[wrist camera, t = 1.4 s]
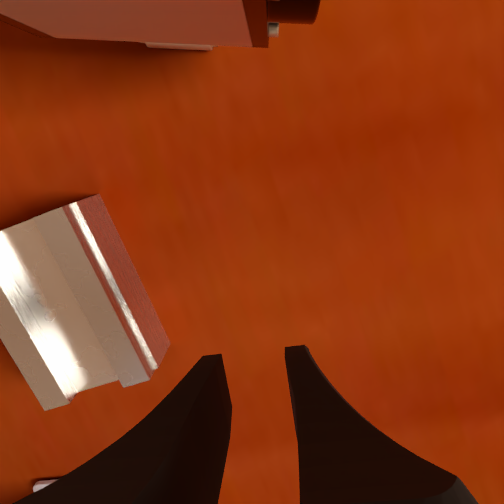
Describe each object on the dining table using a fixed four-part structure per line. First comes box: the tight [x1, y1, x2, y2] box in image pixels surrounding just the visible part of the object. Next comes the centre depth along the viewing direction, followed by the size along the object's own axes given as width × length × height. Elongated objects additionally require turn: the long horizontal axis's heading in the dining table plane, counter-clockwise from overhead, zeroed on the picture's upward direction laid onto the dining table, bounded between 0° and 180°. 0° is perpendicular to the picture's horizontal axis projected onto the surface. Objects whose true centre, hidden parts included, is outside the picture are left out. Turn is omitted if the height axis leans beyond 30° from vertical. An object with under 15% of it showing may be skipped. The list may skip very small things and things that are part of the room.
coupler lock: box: [0, 194, 170, 411], centre depth 21 cm, size 10×7×4 cm
